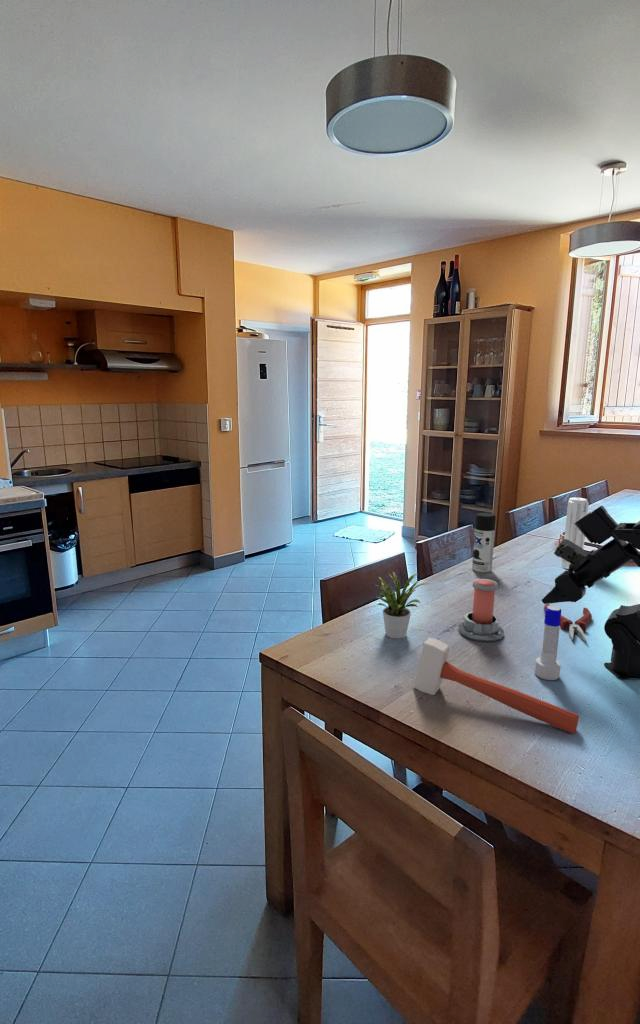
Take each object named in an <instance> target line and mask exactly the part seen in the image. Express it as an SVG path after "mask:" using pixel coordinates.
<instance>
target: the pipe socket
mask: <svg viewBox="0 0 640 1024" xmlns="http://www.w3.org/2000/svg"><path fill="white" fill-rule="evenodd" d="M472 614H473V610H471V611H469V612H465V614H464V615H463V620H462V621H461V622H460V623H459V624H458V628H457V629H458V633H459V634H460V635H461V636H463V637H464V638H466V639H468V640H471V641H476V642H480V643H481V642H482V643H492V642H497V641H501V640H502V639H503V638H504V636H505V635H504V632H505V630H504V628H503V627H501V625H500V618H499V617H498V615H495V614H494V613H493V621H492V623H486V624H482V623H477V622H474V621H472Z"/></svg>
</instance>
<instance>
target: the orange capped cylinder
mask: <svg viewBox="0 0 640 1024" xmlns="http://www.w3.org/2000/svg"><path fill="white" fill-rule="evenodd" d="M471 586H472V588H473V600H472V601H473V602H472V603H473V604H472V611H473V614H472V621H474V622H477V623H482V624H486V623H492V621H493V614H494V607H495V596H496V594H495V592H496V590H497V589H498V583H497V581H495V580H492V579H487V578H477V579H473V580H472V585H471Z"/></svg>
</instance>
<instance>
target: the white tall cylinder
mask: <svg viewBox="0 0 640 1024" xmlns="http://www.w3.org/2000/svg"><path fill="white" fill-rule="evenodd" d="M589 505H590V503H589V501H588V499H587V498H583V497H569V499H568V500H567V509H566V518H565V529H564V538H563V540H564V539H567V540H569V541H571V542H573V543H574V544H576V545H578V546H579V547H581V548H582V549H584V550H585V540H586V539H585V538H586V537H585V536H584V534H583V533H582V532H581V531H580V530H579V529H578V528H577V526H576V525H575V524H574V523H575V522H577V521H578V520H580V519H581V518H582V517H584V516H585V515H587V514H588V513H589V512H588V511H589ZM570 564H571V563H569V562H567V561H566V560H564V559H563V558H561V567H562V568H563V569H565V570H569V565H570Z"/></svg>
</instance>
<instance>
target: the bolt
mask: <svg viewBox="0 0 640 1024" xmlns="http://www.w3.org/2000/svg"><path fill="white" fill-rule="evenodd" d="M561 615H562V609H561V608H560V607H559V606H557V605H550V606H547V607H546V609H545V612H544V622H543V630H542V640H541V642H542V643H541V652H540V656H538V657H536V658H535V663H534V665H535V666H534V673H535V675H536V676H537V677H539V678H540V679H542V680H545V681H546V680H547V681H556V680H558V679H559V678H560V675H561V661H559V660H558V659H557V658H558V657H557V656H558V647H559V636H560V629H561V625H560V619H561Z"/></svg>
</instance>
